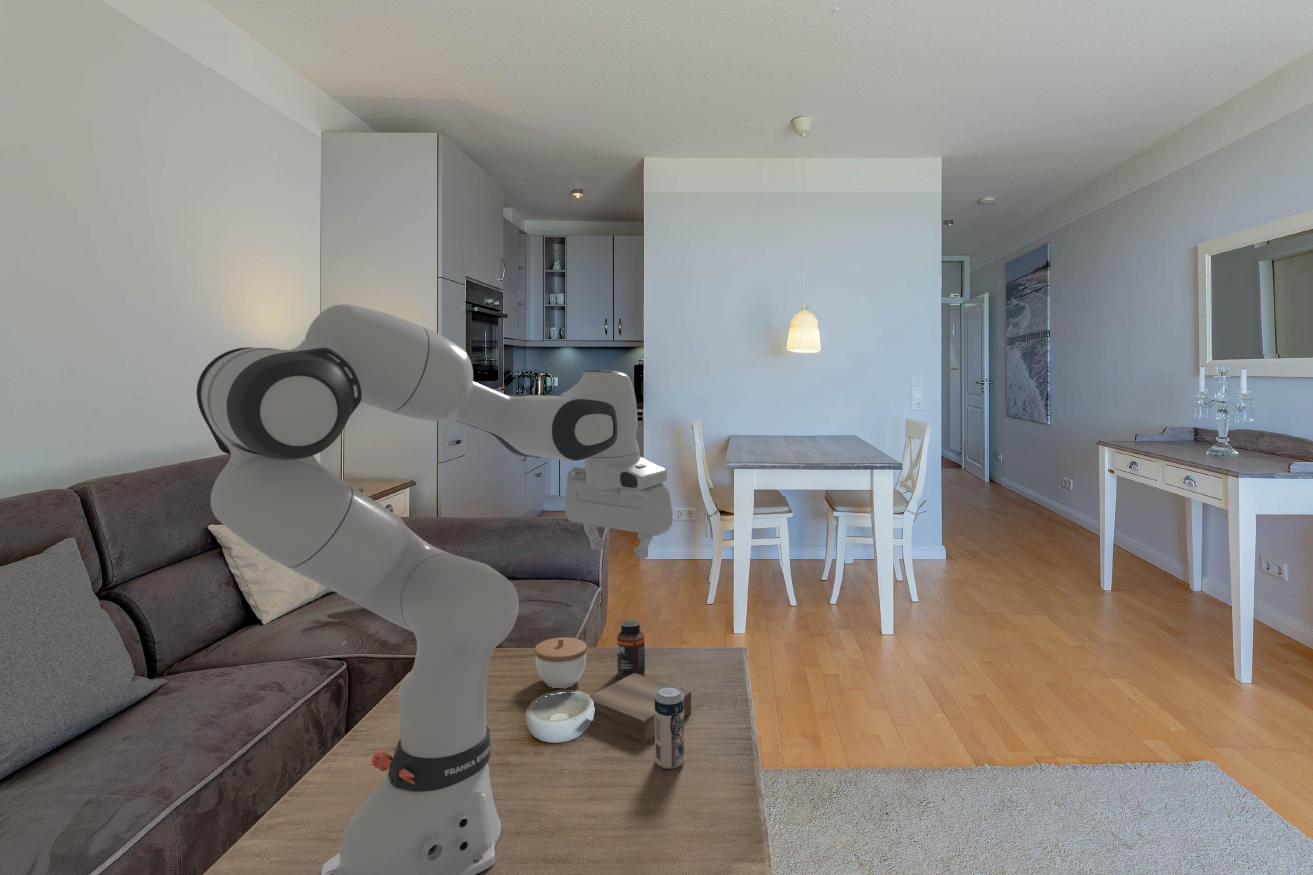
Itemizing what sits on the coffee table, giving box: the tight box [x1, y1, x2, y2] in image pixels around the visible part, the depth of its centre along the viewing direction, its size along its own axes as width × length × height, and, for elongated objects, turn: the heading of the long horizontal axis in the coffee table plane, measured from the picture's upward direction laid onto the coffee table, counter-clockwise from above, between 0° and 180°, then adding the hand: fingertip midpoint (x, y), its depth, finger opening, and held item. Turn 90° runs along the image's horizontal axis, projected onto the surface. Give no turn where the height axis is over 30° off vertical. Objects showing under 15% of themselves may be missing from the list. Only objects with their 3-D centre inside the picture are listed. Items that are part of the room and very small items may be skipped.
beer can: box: [654, 685, 685, 770], centre depth 106 cm, size 5×5×12 cm
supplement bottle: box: [616, 619, 646, 679], centre depth 140 cm, size 6×6×11 cm
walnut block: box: [588, 673, 692, 744], centre depth 122 cm, size 14×14×4 cm
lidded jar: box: [534, 637, 588, 690], centre depth 137 cm, size 11×11×9 cm
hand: (618, 553), depth 107 cm, fingers open, 8 cm apart
